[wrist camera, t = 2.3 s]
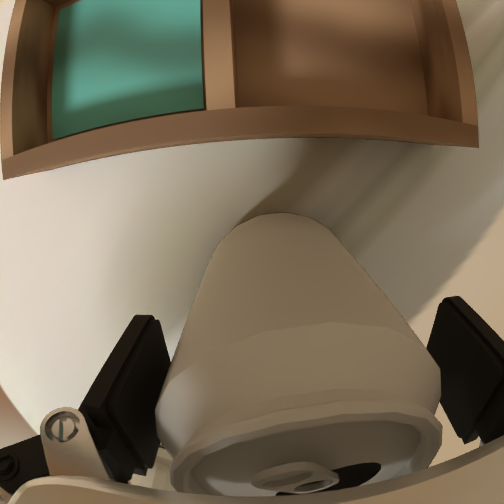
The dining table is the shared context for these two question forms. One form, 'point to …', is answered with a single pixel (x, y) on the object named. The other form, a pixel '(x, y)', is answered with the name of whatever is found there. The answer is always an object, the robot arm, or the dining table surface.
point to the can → (294, 372)
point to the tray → (228, 75)
